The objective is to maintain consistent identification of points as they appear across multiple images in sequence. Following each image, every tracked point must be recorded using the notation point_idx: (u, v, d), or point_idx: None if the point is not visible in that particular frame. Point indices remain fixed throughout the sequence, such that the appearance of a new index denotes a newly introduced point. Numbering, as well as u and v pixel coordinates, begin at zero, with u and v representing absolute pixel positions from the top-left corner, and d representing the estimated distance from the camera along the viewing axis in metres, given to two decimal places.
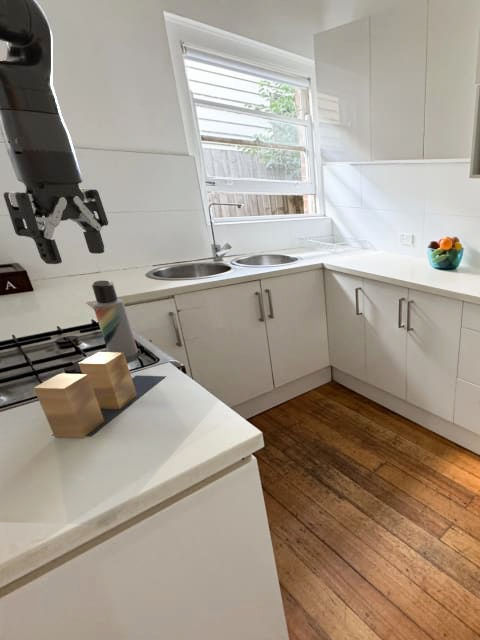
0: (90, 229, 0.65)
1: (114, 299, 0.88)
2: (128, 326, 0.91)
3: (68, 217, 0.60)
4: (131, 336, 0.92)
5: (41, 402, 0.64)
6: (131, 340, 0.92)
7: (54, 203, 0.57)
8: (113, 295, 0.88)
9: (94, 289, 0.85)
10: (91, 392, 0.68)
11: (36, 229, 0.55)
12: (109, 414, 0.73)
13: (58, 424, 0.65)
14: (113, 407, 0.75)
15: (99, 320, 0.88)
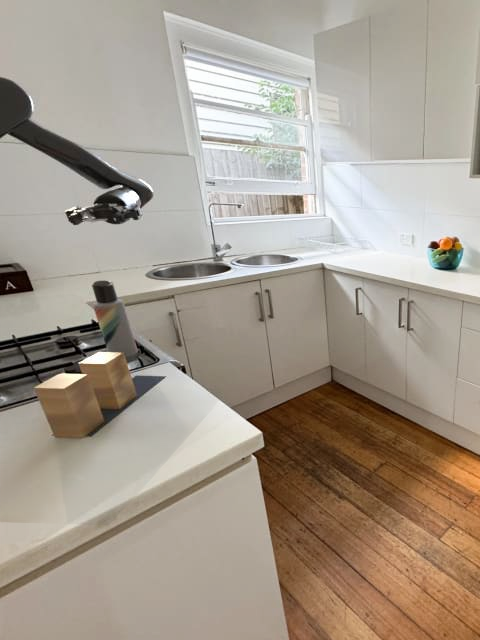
0: (81, 217, 0.90)
1: (114, 299, 0.88)
2: (128, 326, 0.91)
3: (107, 218, 0.93)
4: (131, 336, 0.92)
5: (41, 402, 0.64)
6: (131, 340, 0.92)
7: None
8: (113, 295, 0.88)
9: (94, 289, 0.85)
10: (91, 392, 0.68)
11: None
12: (109, 414, 0.73)
13: (58, 424, 0.65)
14: (113, 407, 0.75)
15: (99, 320, 0.88)
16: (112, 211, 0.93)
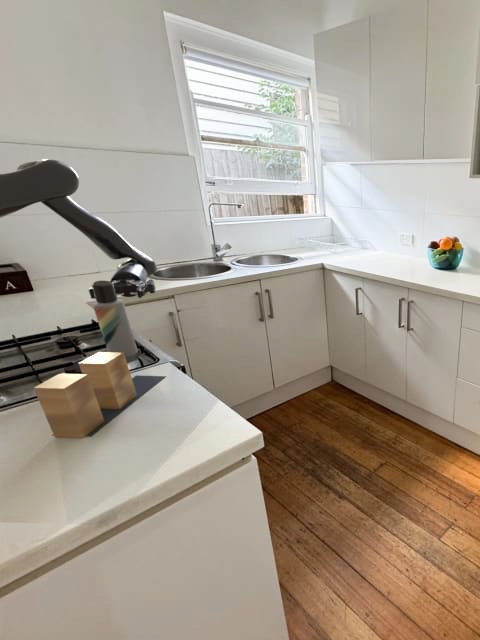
0: None
1: (114, 299, 0.88)
2: (128, 326, 0.91)
3: (125, 293, 1.04)
4: (131, 336, 0.92)
5: (41, 402, 0.64)
6: (131, 340, 0.92)
7: None
8: (113, 295, 0.88)
9: (94, 289, 0.85)
10: (91, 392, 0.68)
11: None
12: (109, 414, 0.73)
13: (58, 424, 0.65)
14: (113, 407, 0.75)
15: (99, 320, 0.88)
16: (130, 287, 1.04)
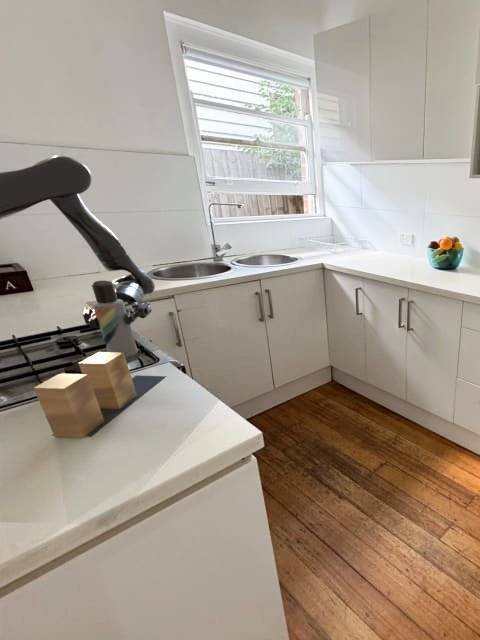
0: None
1: (114, 299, 0.88)
2: (128, 326, 0.91)
3: None
4: (131, 336, 0.92)
5: (41, 402, 0.64)
6: (131, 340, 0.92)
7: None
8: (112, 295, 0.88)
9: (94, 289, 0.85)
10: (91, 392, 0.68)
11: None
12: (109, 414, 0.73)
13: (58, 424, 0.65)
14: (113, 407, 0.75)
15: (99, 320, 0.88)
16: None
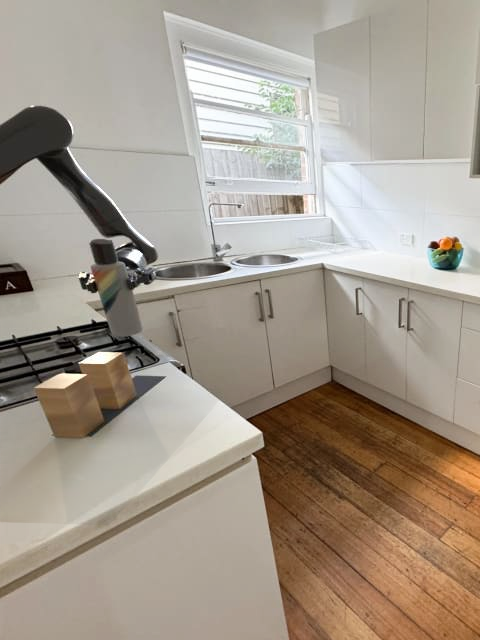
0: None
1: (115, 260, 0.77)
2: (130, 292, 0.81)
3: None
4: (134, 304, 0.82)
5: (41, 402, 0.64)
6: (134, 309, 0.82)
7: None
8: (113, 256, 0.77)
9: (92, 248, 0.75)
10: (91, 392, 0.68)
11: None
12: (109, 414, 0.73)
13: (58, 424, 0.65)
14: (113, 407, 0.75)
15: (98, 284, 0.77)
16: None
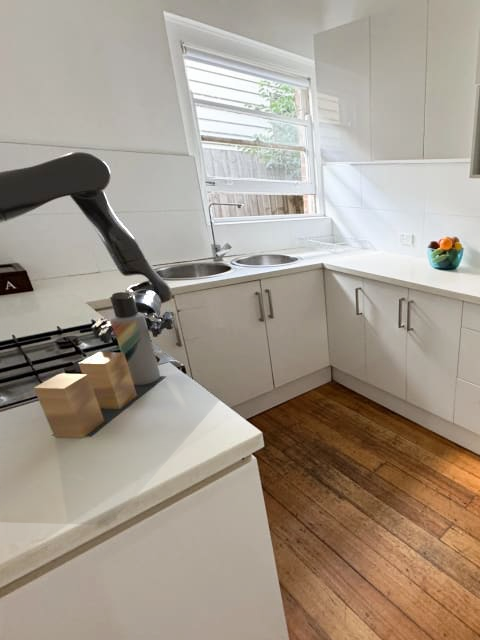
0: (110, 332, 0.81)
1: (134, 313, 0.79)
2: (149, 342, 0.82)
3: None
4: (152, 353, 0.83)
5: (41, 402, 0.64)
6: (152, 358, 0.83)
7: None
8: (133, 309, 0.78)
9: (113, 302, 0.76)
10: (91, 392, 0.68)
11: None
12: (109, 414, 0.73)
13: (58, 424, 0.65)
14: (113, 407, 0.75)
15: (118, 336, 0.78)
16: None
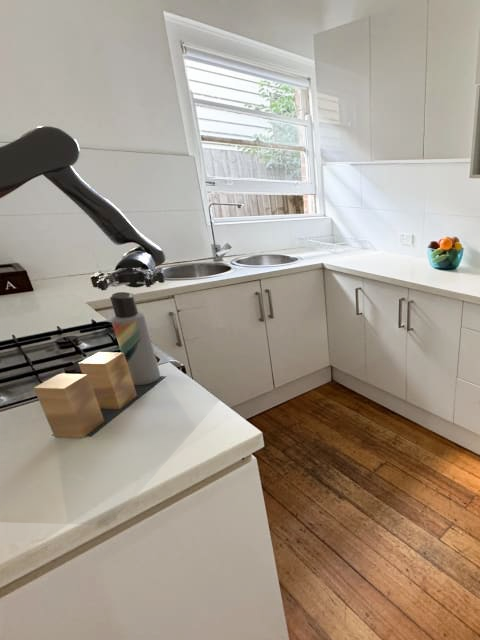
0: (106, 282, 0.89)
1: (134, 313, 0.79)
2: (149, 342, 0.82)
3: (132, 282, 0.93)
4: (152, 353, 0.83)
5: (41, 402, 0.64)
6: (152, 357, 0.83)
7: None
8: (133, 309, 0.78)
9: (113, 302, 0.76)
10: (91, 392, 0.68)
11: None
12: (109, 414, 0.73)
13: (58, 424, 0.65)
14: (113, 407, 0.75)
15: (118, 336, 0.78)
16: (137, 275, 0.93)
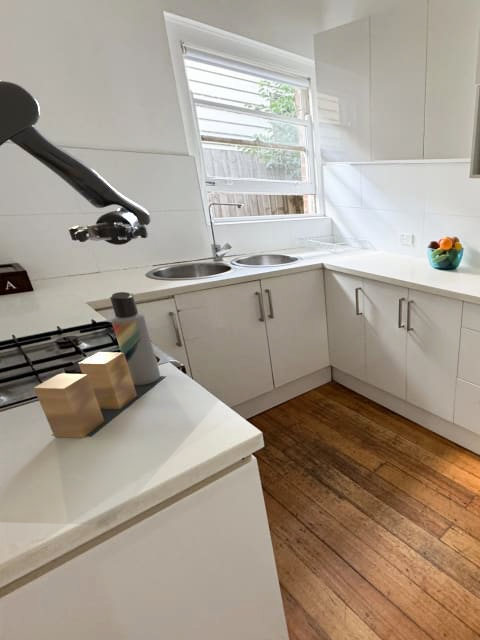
0: (86, 235, 0.85)
1: (134, 313, 0.79)
2: (149, 342, 0.82)
3: (113, 236, 0.90)
4: (152, 353, 0.83)
5: (41, 402, 0.64)
6: (152, 357, 0.83)
7: None
8: (133, 309, 0.78)
9: (113, 302, 0.76)
10: (91, 392, 0.68)
11: None
12: (109, 414, 0.73)
13: (58, 424, 0.65)
14: (113, 407, 0.75)
15: (118, 336, 0.78)
16: (119, 229, 0.89)
